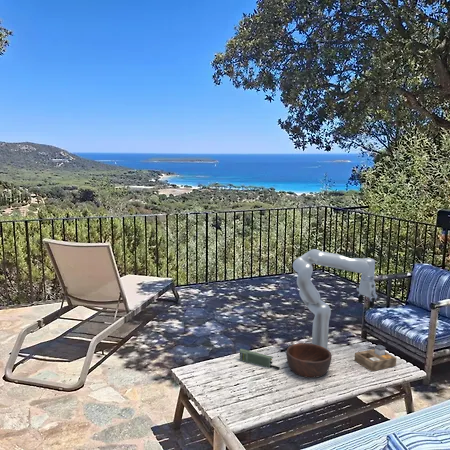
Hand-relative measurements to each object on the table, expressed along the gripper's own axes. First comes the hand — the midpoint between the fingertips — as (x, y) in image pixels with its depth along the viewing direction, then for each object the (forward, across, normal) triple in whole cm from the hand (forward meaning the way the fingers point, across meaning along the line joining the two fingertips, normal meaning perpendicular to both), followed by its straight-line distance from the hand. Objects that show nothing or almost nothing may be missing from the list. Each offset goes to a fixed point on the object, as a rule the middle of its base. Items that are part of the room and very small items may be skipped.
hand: (365, 304), depth 256 cm
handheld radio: (+29, +3, +73) cm, 79 cm away
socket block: (+28, -20, +9) cm, 36 cm away
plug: (+27, -19, +4) cm, 33 cm away
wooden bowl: (+29, -12, +50) cm, 59 cm away
